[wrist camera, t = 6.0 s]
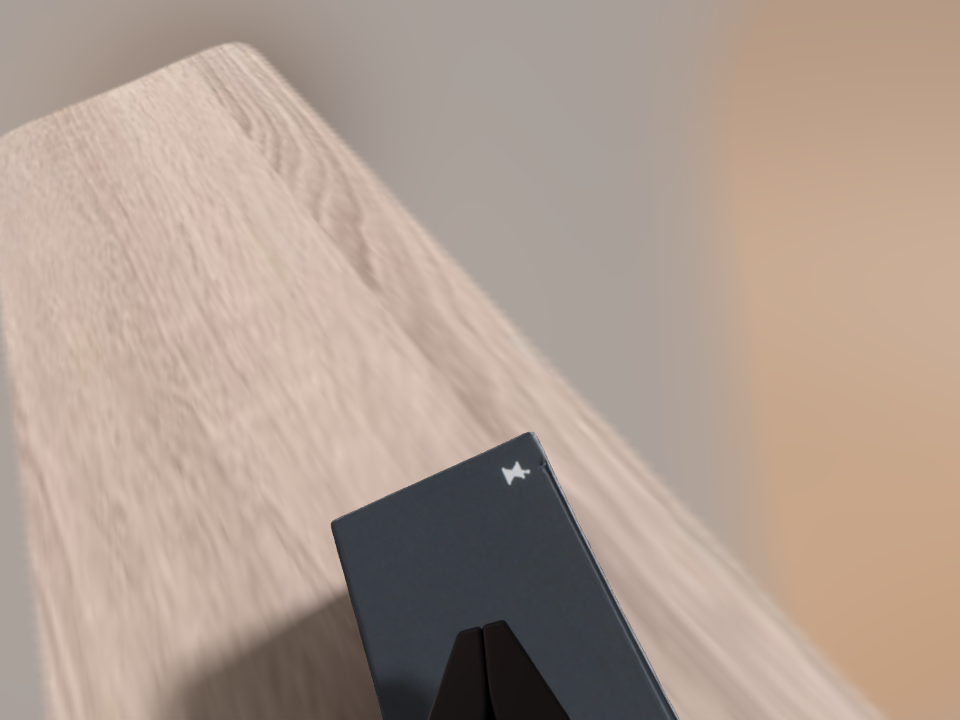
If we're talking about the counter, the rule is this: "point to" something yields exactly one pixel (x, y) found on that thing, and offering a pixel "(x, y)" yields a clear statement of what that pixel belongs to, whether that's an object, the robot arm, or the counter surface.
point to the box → (490, 587)
